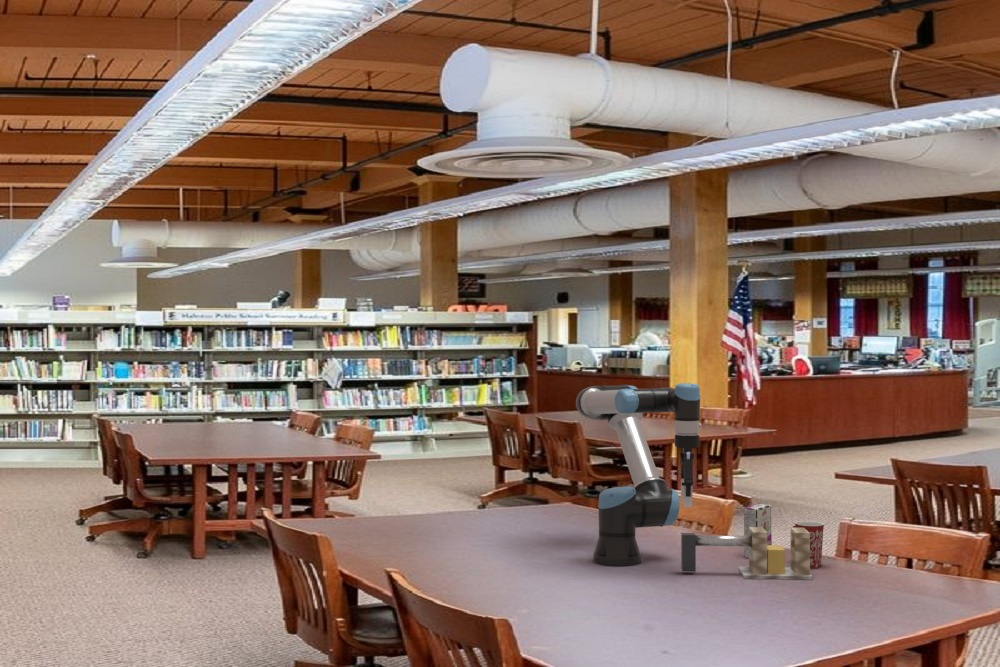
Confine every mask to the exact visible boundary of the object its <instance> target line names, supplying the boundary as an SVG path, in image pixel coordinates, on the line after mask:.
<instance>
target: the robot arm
mask: <svg viewBox="0 0 1000 667" xmlns="http://www.w3.org/2000/svg"><path fill="white" fill-rule="evenodd" d="M700 388H701V387H700V386H699V384H697V383H686V382H683V383H677V384H675V387H674V388H673V387H661V388H656V387H655V388H638V387H636V386H635V385H628V384H620V385H592V386H588V387H585V388H583V389H582V390H581V391H580V392H579V393H578V394H577V396H576V399H575V406H576V410H577V411H578V413H579V414H580V415H581V416H583V417H584V418H586V419H589V420H593V421H594V420H597V421H598V420H600V421H601V420H602V421H603V420H606V421H607V422H608V424H609V425H608V426H609V427H610V428H611V429H612V430H615V432H616V434H617V438H618V441H619V443H620V447H621V450H622V452H623V455H624V459H625V462H626V465H627V468H628V471H629V474H630V476H631V480H632V482H633V486H634V487H633V486H615V487H611V488H607V489H604V490H602V491H601V492H600V493H599V496H598V504H597V507H598V538H597V542H596V545H595V548H594V551H593V557H592V559H593V563H595V564H599V565H602V566H611V567H612V566H613V567H616V566H617V567H618V566H619V567H623V566H625V567H626V566H634V565H639V564H641V563H642V555H641V551H640V548H639V545H638V542H637V539H636V528H638V529H639V528H652V527H661V528H662V527H666V526H667V527H668V526H672V525H674V523H676V521H677V519H678V518H679V514H680V507H681V506H680V504H681V502H680V501H682V503H683V505H682V507H683V508H693V504H694V503H693V496H694V494H693V493H694V492H693V490H694V486H693V485H694V477H693V476H694V475H693V474H694V473H693V472H694V471H693V469H694V468H693V467H694V457H695V454H694V452H692V449H697V448H699V447H700V437H701V436H699V435H698V434H700V428H701V427H703V425H702V423H700V416H701V414H700V413H701V412H700V410H701V395H700V394H701V393H700V392H701V390H700ZM645 413H647V414H650V413H656V414H657V413H674V433H675V434H674V447H676V448H679V449H680V451H681V452H680V453H679V457H680V497H679V493H678V492H677V490H675V489H674V488H669V487H668V484H667V482H666V480H665V479H663V478H661V477H660V476H659V473H658V469H657V468H656V464H655V462H654V459H653V455H652V454H651V451H650V447H649V444H648V441H647V438H646V435H645V433H644V430H643V426H642V424H641V421H642V419H643V415H644V414H645Z"/></svg>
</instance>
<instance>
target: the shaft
mask: <svg viewBox="0 0 1000 667" xmlns="http://www.w3.org/2000/svg"><path fill="white" fill-rule="evenodd" d="M680 536H681V537H680V544H681V545H680V549H681V550H680V551H681V552H680V553H681V555H680V556H681V557H680V558H681V560H680V562H681V563H680V564H681V567H680V568H681V571H682V572H687V573H688V572H689V573H690V572H691V573H692V572H693V573H695V572H696V571H697V570H696V567H697V566H696V565H697V564H696V561H697V560H696V556H697V555H696V554H697V553H696V550H697V548H696V547H737V548H738V547H741V548H742V547H752V536H744V535H713V534H712V535H710V534H709V535H708V534H707V535H705V534H703V535H702V534H701V535H700V534H697V535H696V532H680Z"/></svg>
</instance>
